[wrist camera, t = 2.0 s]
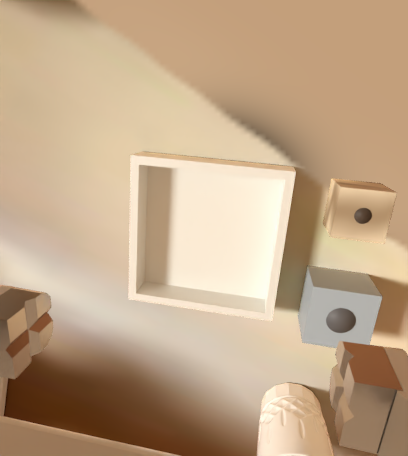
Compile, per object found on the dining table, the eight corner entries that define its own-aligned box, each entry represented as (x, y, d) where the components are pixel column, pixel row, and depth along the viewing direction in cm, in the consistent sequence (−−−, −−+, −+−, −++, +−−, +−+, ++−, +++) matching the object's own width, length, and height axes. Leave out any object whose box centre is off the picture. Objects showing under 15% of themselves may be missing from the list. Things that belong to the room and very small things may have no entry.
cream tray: (271, 304, 39) (272, 321, 36) (139, 284, 41) (128, 299, 38) (292, 166, 35) (296, 171, 31) (142, 151, 36) (130, 154, 33)
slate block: (354, 324, 38) (367, 353, 34) (297, 315, 39) (302, 342, 34) (367, 273, 37) (382, 297, 32) (307, 265, 37) (313, 286, 33)
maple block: (369, 228, 35) (384, 244, 31) (322, 222, 36) (330, 237, 32) (380, 183, 34) (397, 193, 30) (331, 178, 34) (340, 187, 30)
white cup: (253, 377, 42) (250, 452, 33) (323, 377, 41) (340, 455, 31) (260, 431, 45) (259, 515, 35) (326, 432, 43) (344, 521, 34)
